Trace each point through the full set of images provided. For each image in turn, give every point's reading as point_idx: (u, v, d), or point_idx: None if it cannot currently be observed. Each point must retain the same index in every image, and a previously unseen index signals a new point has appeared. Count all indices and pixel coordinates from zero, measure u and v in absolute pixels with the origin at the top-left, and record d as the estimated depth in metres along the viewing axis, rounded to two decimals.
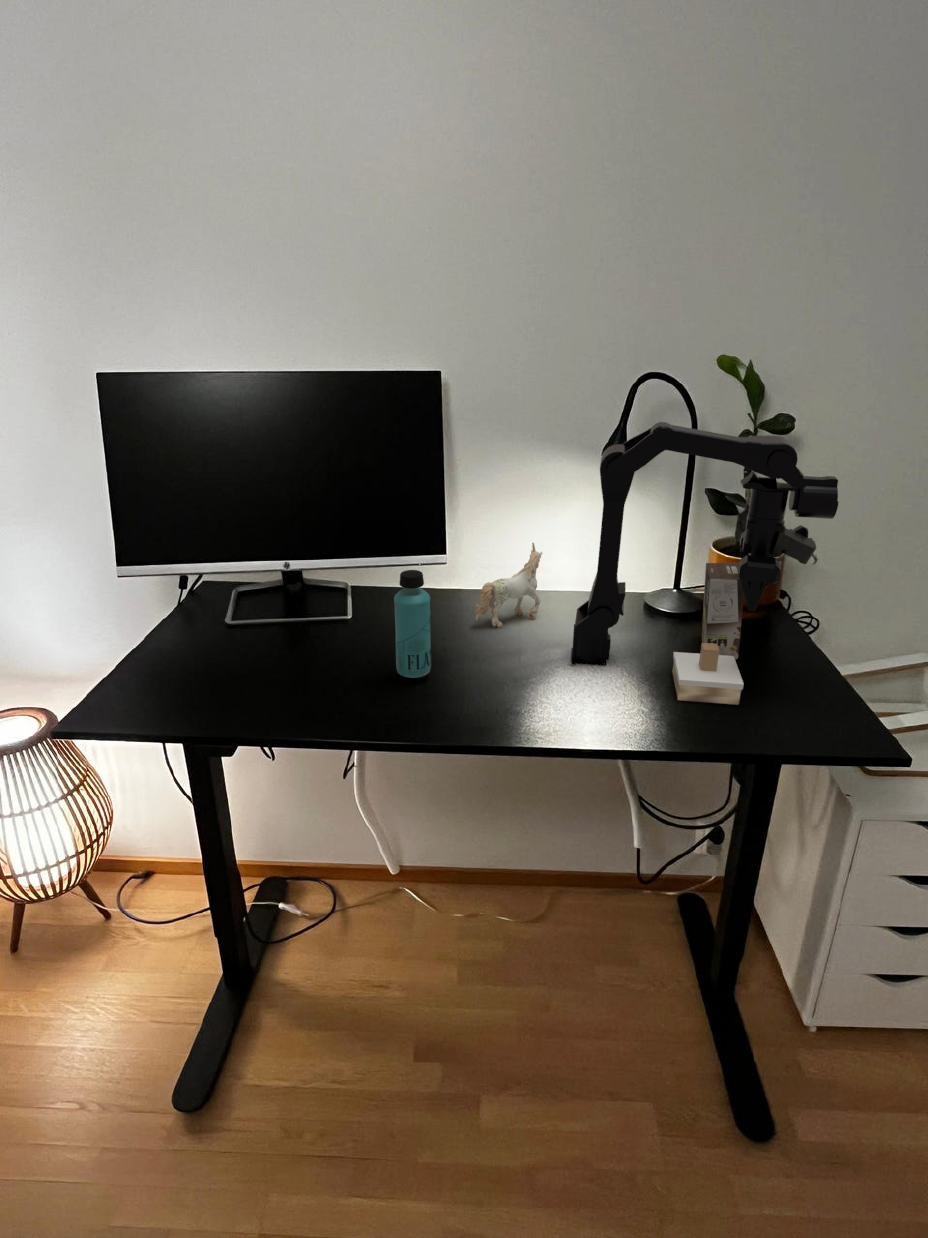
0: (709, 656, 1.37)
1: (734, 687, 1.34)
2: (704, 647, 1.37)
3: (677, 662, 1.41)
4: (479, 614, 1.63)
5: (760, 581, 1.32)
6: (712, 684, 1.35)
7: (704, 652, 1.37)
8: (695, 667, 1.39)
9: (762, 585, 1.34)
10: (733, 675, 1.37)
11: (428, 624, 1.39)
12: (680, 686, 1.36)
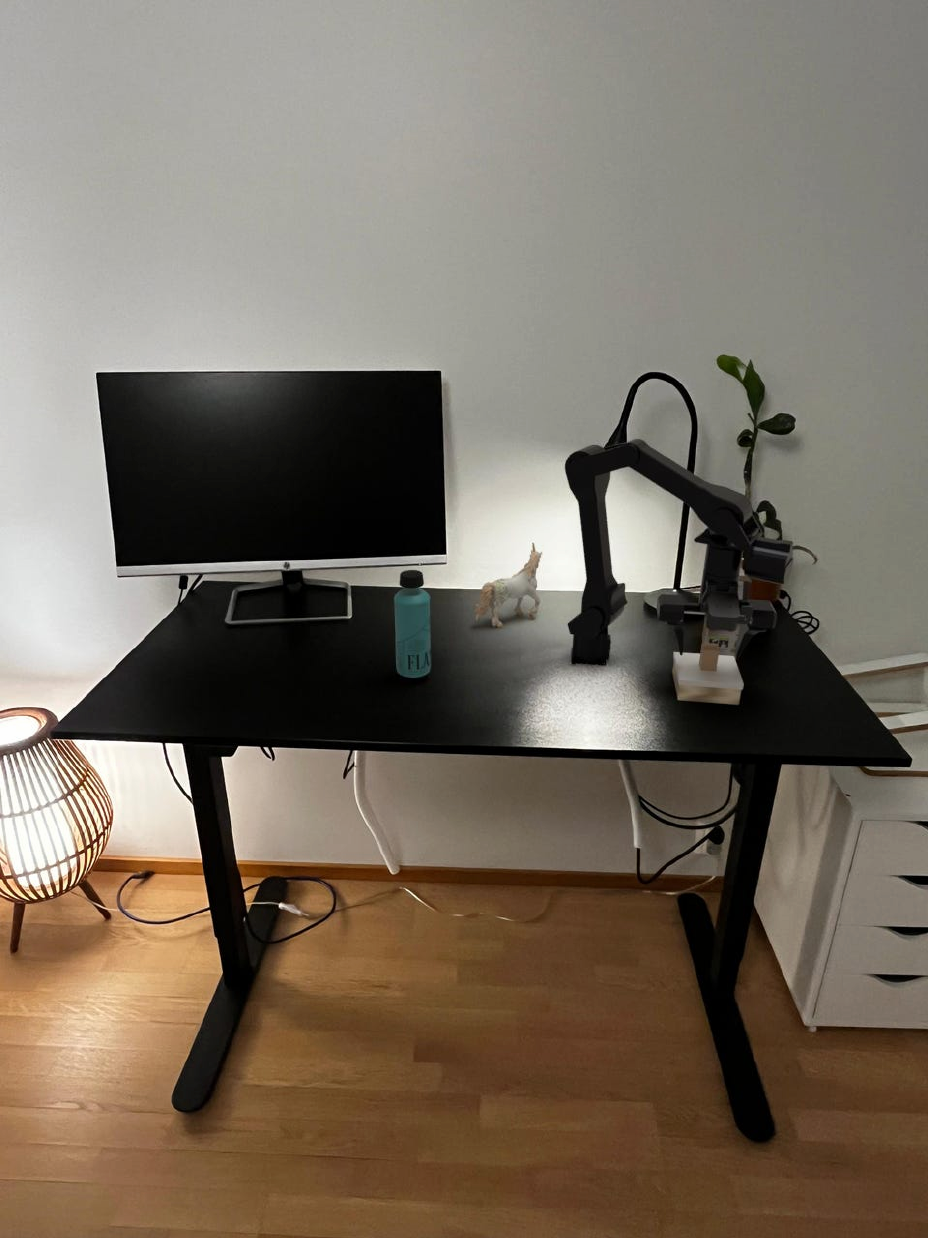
0: (709, 656, 1.37)
1: (734, 687, 1.34)
2: (704, 647, 1.37)
3: (677, 662, 1.41)
4: (479, 614, 1.63)
5: None
6: (712, 684, 1.35)
7: (704, 652, 1.37)
8: (695, 667, 1.39)
9: None
10: (733, 675, 1.37)
11: (428, 624, 1.39)
12: (680, 686, 1.36)
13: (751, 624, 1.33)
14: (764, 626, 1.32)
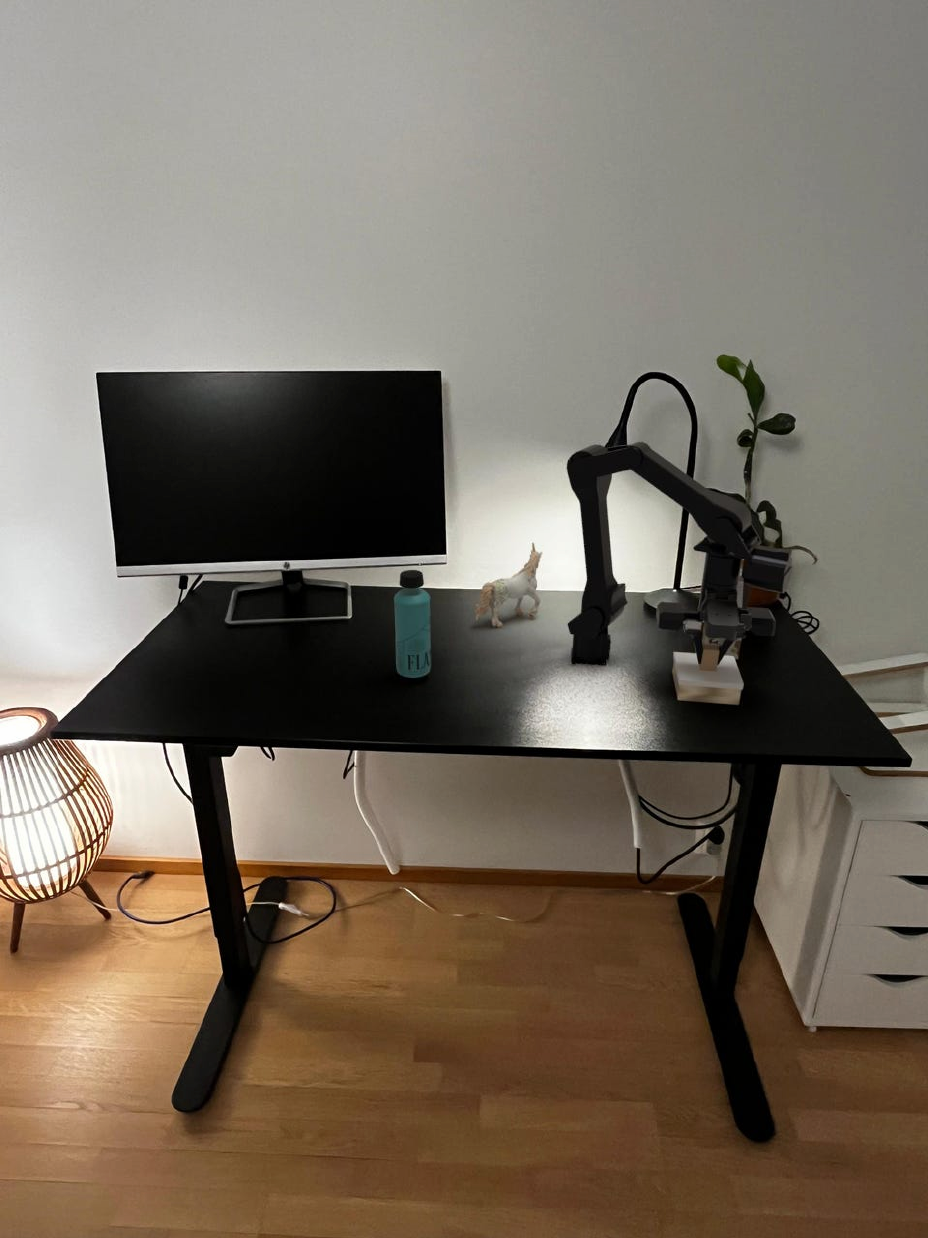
0: (709, 656, 1.37)
1: (734, 687, 1.34)
2: (704, 647, 1.37)
3: (677, 662, 1.41)
4: (479, 614, 1.63)
5: (683, 627, 1.37)
6: (712, 684, 1.35)
7: (704, 652, 1.37)
8: (695, 667, 1.39)
9: None
10: (733, 675, 1.37)
11: (428, 624, 1.39)
12: (680, 686, 1.36)
13: None
14: (763, 634, 1.32)
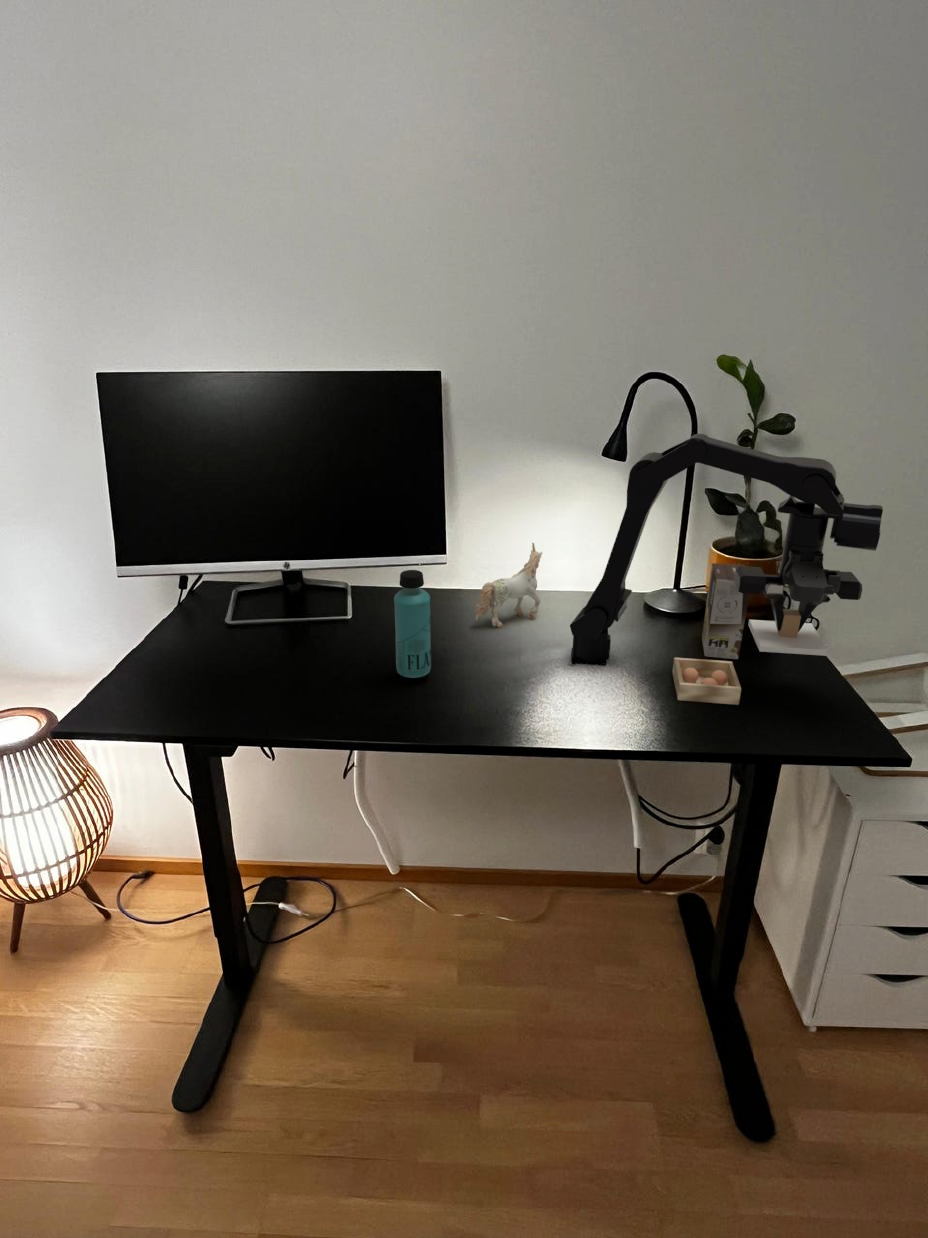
0: (790, 622, 1.32)
1: (817, 653, 1.30)
2: (785, 613, 1.33)
3: (755, 629, 1.36)
4: (479, 614, 1.63)
5: (763, 592, 1.32)
6: (794, 650, 1.30)
7: (785, 618, 1.32)
8: (774, 634, 1.35)
9: None
10: (815, 641, 1.32)
11: (428, 624, 1.39)
12: (680, 686, 1.36)
13: None
14: (849, 597, 1.28)
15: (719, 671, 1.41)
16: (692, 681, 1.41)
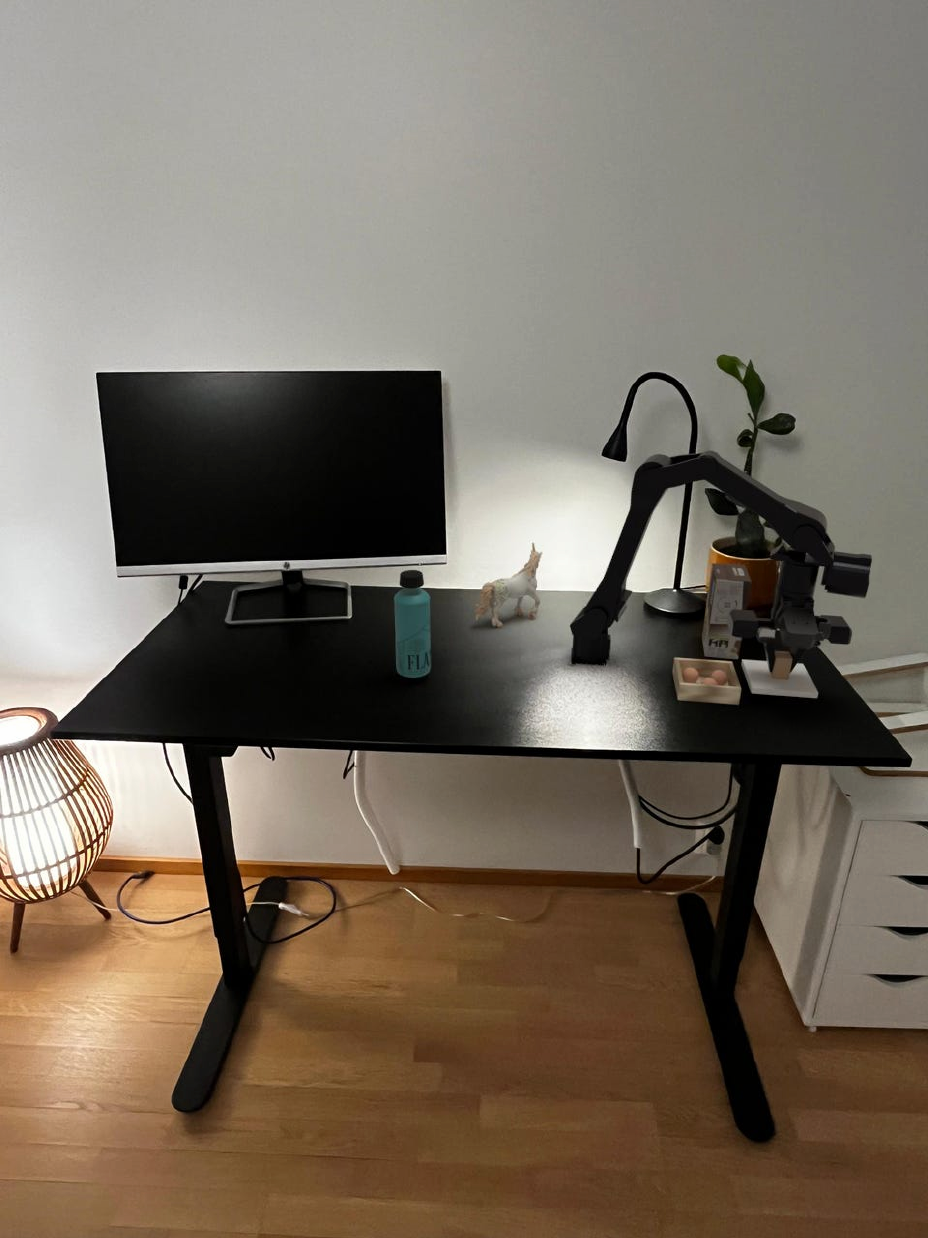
0: (781, 665, 1.36)
1: (808, 696, 1.33)
2: (776, 655, 1.36)
3: (747, 670, 1.40)
4: (479, 614, 1.63)
5: (756, 635, 1.35)
6: (786, 693, 1.33)
7: (777, 660, 1.36)
8: (766, 675, 1.38)
9: None
10: (806, 683, 1.35)
11: (428, 624, 1.39)
12: (680, 686, 1.36)
13: None
14: (839, 642, 1.31)
15: (719, 671, 1.41)
16: (692, 681, 1.41)
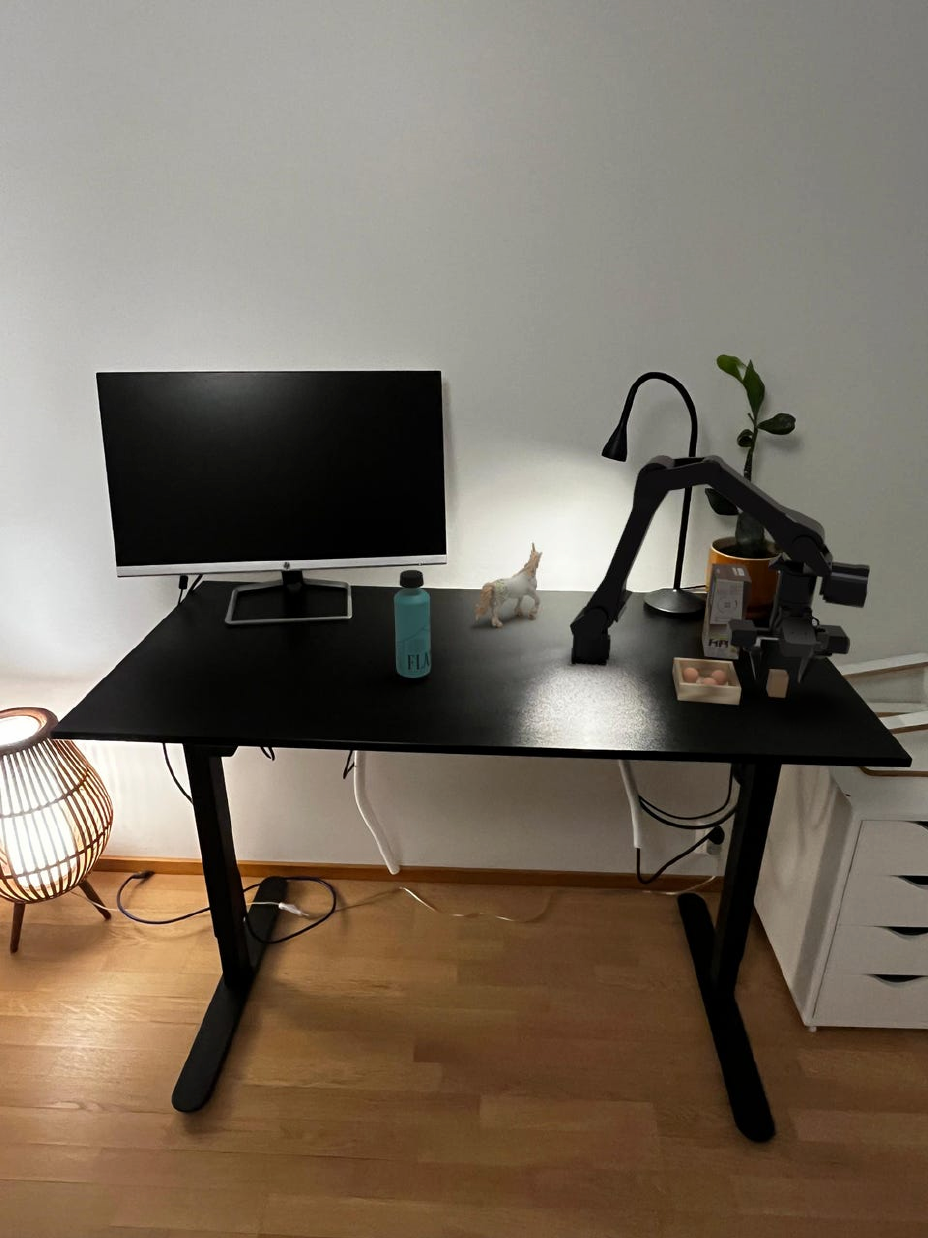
0: (778, 683, 1.37)
1: None
2: (773, 674, 1.38)
3: None
4: (479, 614, 1.63)
5: None
6: None
7: (773, 679, 1.37)
8: None
9: None
10: None
11: (428, 624, 1.39)
12: (680, 686, 1.36)
13: None
14: (837, 652, 1.32)
15: (719, 671, 1.41)
16: (692, 681, 1.41)
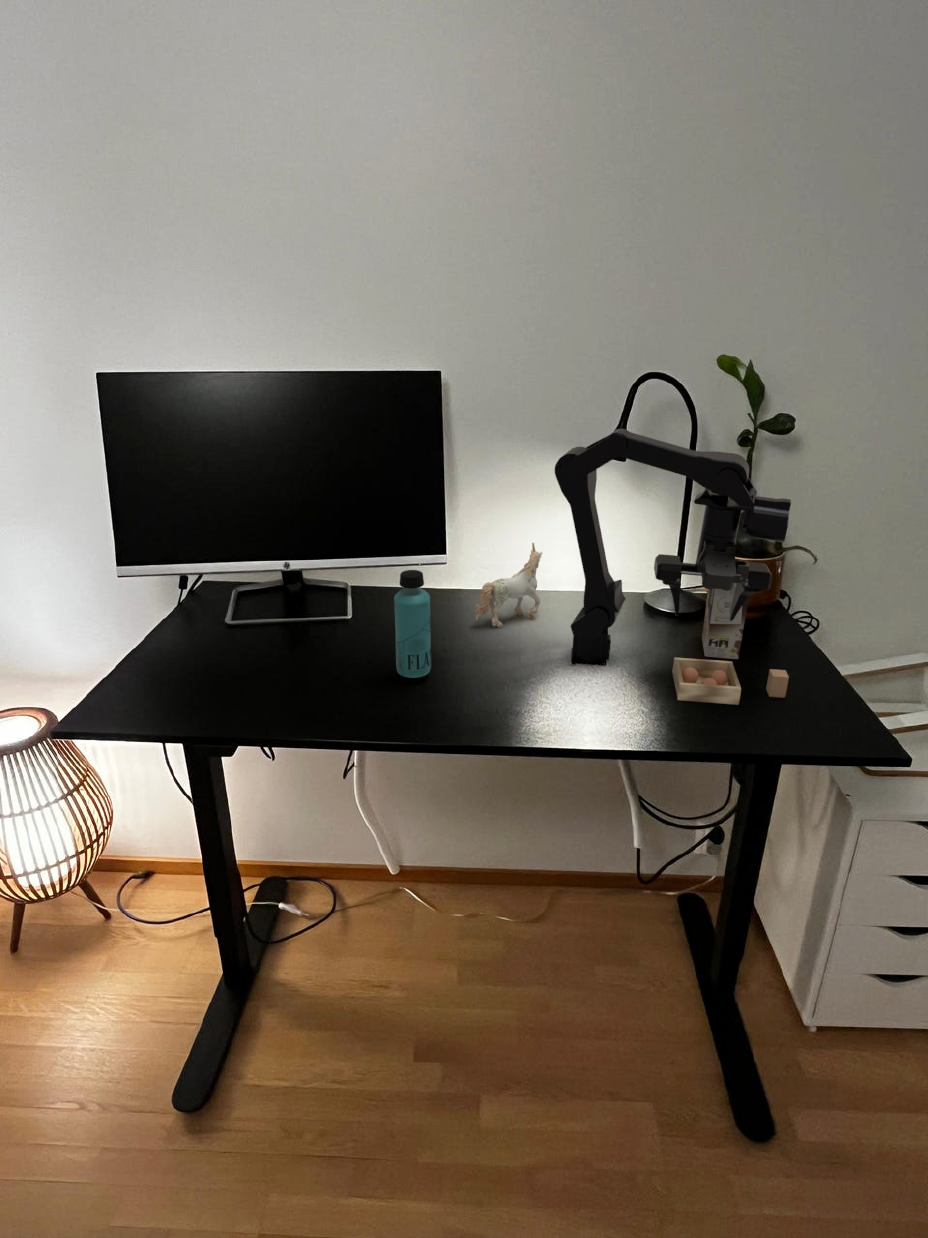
0: (778, 683, 1.37)
1: None
2: (773, 674, 1.38)
3: None
4: (479, 614, 1.63)
5: None
6: None
7: (773, 679, 1.37)
8: None
9: None
10: None
11: (428, 624, 1.39)
12: (680, 686, 1.36)
13: (747, 585, 1.35)
14: (759, 587, 1.34)
15: (719, 671, 1.41)
16: (692, 681, 1.41)
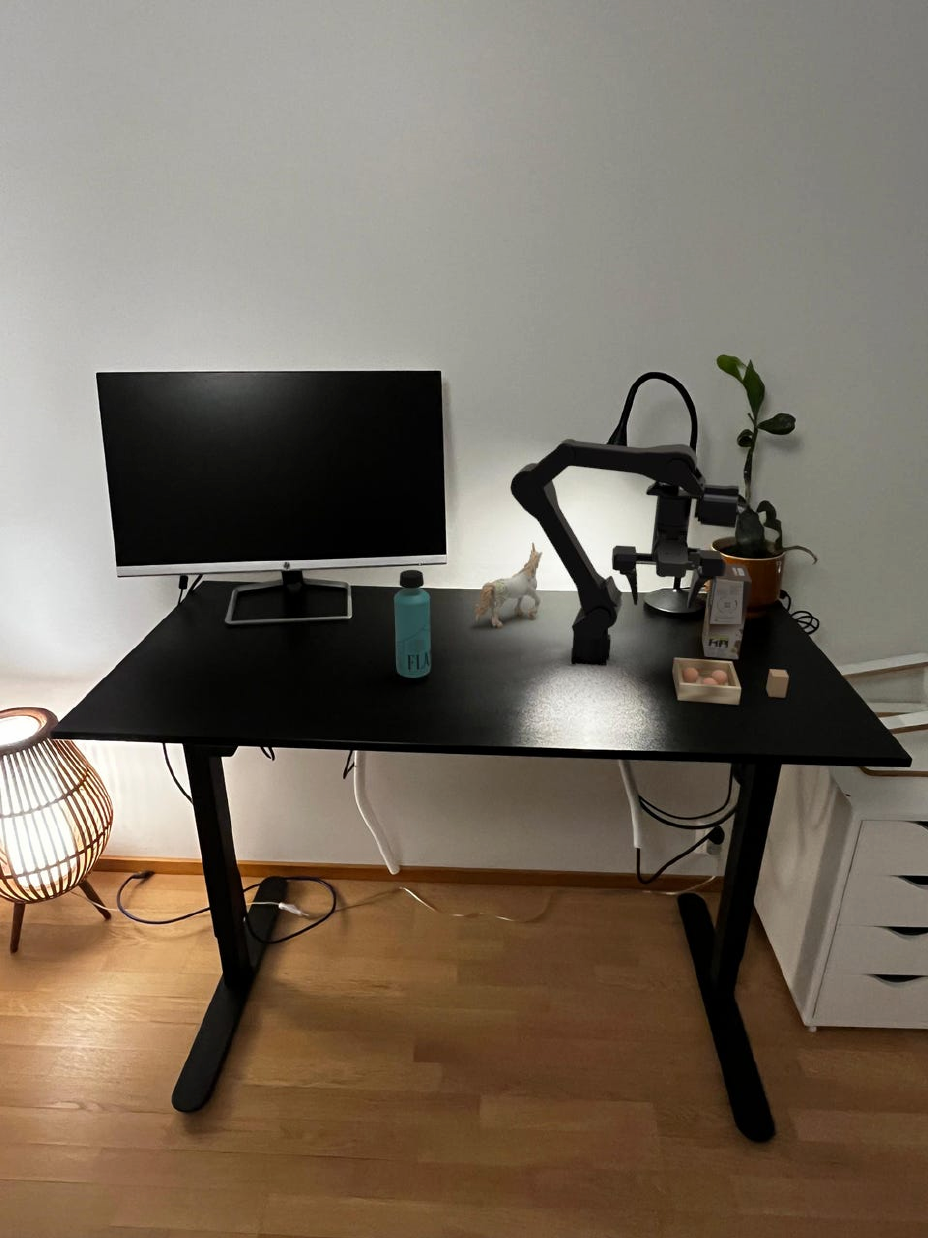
0: (778, 683, 1.37)
1: None
2: (773, 674, 1.38)
3: None
4: (479, 614, 1.63)
5: None
6: None
7: (773, 679, 1.37)
8: None
9: None
10: None
11: (428, 624, 1.39)
12: (680, 686, 1.36)
13: (701, 573, 1.38)
14: (713, 574, 1.36)
15: (719, 671, 1.41)
16: (692, 681, 1.41)
